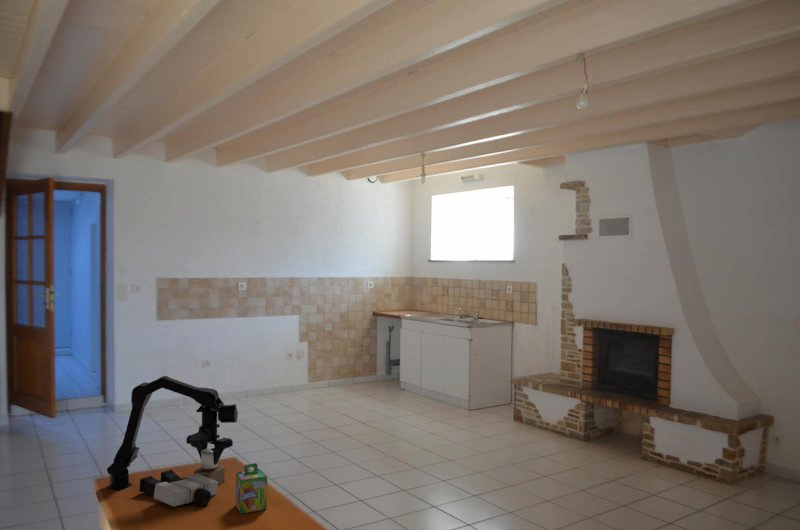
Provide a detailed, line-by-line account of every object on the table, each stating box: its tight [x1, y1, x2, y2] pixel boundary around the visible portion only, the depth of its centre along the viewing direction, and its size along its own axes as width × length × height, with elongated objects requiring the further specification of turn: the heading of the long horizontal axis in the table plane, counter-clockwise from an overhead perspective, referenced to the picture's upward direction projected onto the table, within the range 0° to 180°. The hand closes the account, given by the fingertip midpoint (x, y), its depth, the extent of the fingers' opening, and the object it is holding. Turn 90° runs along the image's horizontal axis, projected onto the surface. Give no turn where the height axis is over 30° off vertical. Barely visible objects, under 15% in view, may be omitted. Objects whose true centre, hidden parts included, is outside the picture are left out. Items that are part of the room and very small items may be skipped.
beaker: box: [200, 447, 219, 469], centre depth 224 cm, size 6×6×6 cm
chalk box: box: [235, 462, 268, 515], centre depth 202 cm, size 9×9×15 cm
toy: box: [139, 469, 219, 507], centre depth 211 cm, size 19×7×30 cm
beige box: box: [193, 465, 226, 486], centre depth 224 cm, size 8×8×6 cm
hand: (209, 463), depth 224 cm, fingers closed on beaker, 6 cm apart
